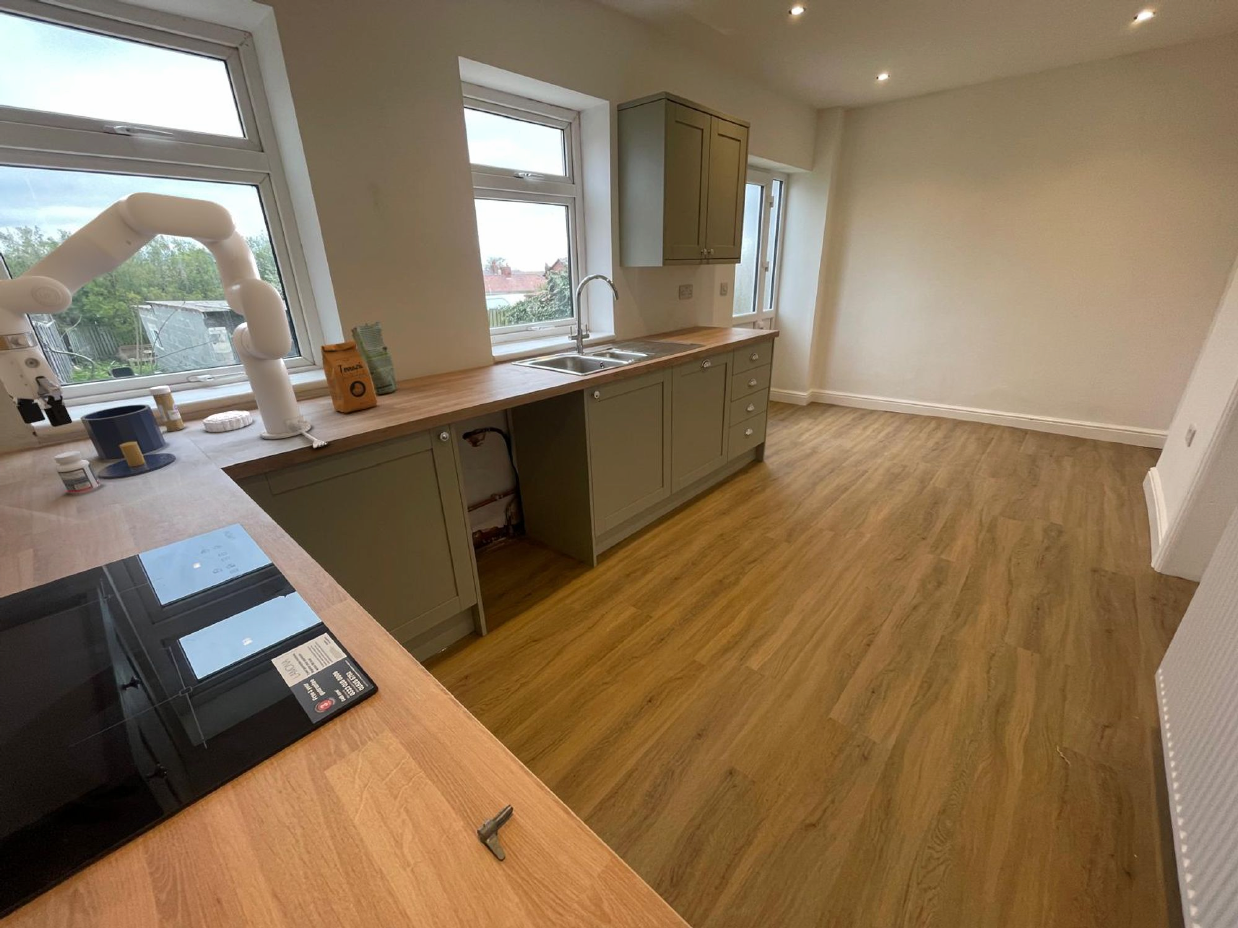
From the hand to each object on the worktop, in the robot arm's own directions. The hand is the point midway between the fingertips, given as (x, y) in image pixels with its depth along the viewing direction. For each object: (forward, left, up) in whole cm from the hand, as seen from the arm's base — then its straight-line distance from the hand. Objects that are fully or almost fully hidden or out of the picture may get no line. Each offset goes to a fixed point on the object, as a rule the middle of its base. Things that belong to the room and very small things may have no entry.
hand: (49, 423), depth 109 cm
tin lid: (+1, -12, -16) cm, 20 cm away
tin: (+17, -20, -16) cm, 31 cm away
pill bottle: (-1, 0, -16) cm, 16 cm away
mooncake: (+12, -43, -16) cm, 48 cm away
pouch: (-8, -87, -16) cm, 89 cm away
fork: (-28, -38, -16) cm, 49 cm away
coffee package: (-16, -66, -16) cm, 70 cm away
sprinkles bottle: (+27, -37, -16) cm, 49 cm away
